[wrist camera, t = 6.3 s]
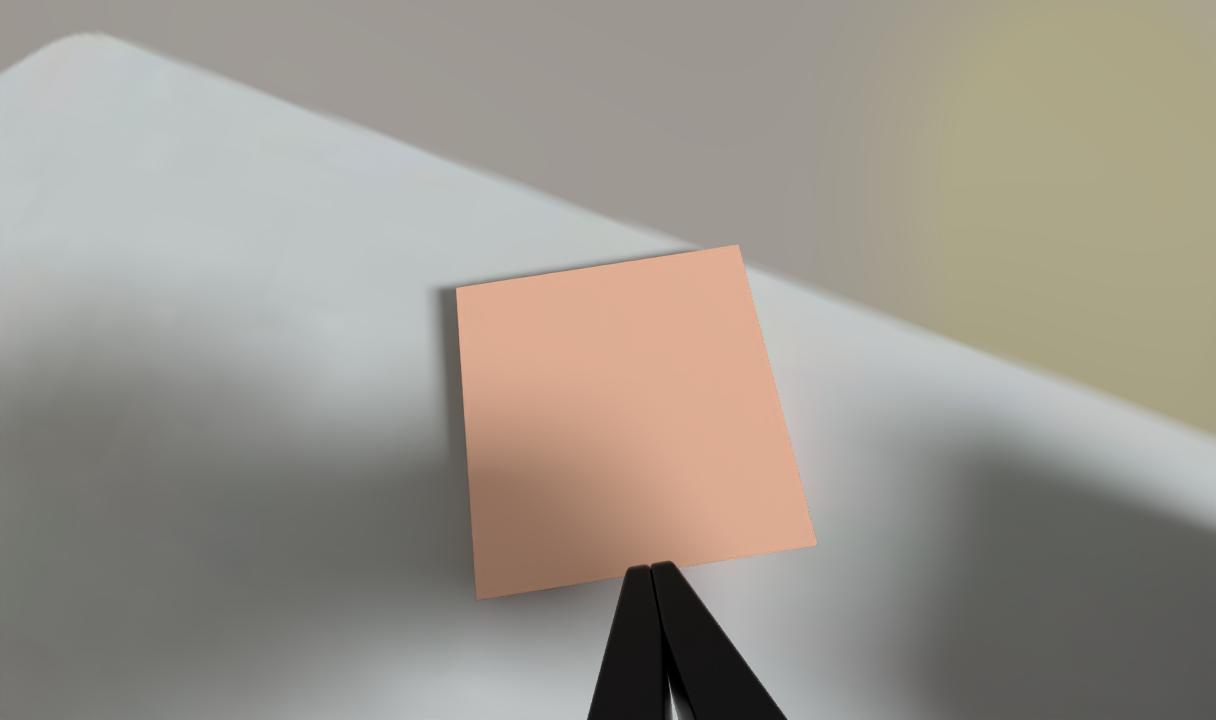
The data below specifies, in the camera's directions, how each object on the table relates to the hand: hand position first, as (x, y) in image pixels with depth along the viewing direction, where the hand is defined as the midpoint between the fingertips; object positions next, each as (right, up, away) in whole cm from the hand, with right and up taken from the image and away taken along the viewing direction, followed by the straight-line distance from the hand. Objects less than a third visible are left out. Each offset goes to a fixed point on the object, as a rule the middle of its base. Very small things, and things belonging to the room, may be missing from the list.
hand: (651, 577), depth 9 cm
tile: (0, -3, +6) cm, 7 cm away
